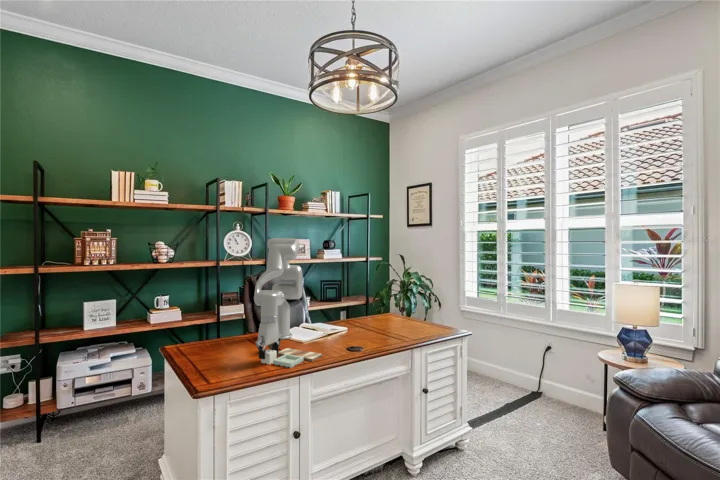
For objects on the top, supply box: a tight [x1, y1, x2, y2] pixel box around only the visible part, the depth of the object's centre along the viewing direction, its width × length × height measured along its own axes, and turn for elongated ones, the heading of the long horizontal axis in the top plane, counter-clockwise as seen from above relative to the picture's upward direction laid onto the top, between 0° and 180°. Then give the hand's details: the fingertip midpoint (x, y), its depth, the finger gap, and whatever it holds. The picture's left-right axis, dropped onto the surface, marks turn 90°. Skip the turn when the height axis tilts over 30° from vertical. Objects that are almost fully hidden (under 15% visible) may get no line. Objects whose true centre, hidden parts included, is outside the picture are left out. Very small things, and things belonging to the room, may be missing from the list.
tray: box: [272, 354, 305, 369], centre depth 172 cm, size 10×10×2 cm
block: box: [260, 348, 278, 365], centre depth 173 cm, size 5×5×5 cm
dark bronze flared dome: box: [267, 338, 282, 350], centre depth 190 cm, size 8×7×8 cm
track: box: [277, 347, 323, 363], centre depth 183 cm, size 21×9×1 cm, turn 65°
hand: (268, 355), depth 173 cm, fingers open, 9 cm apart
